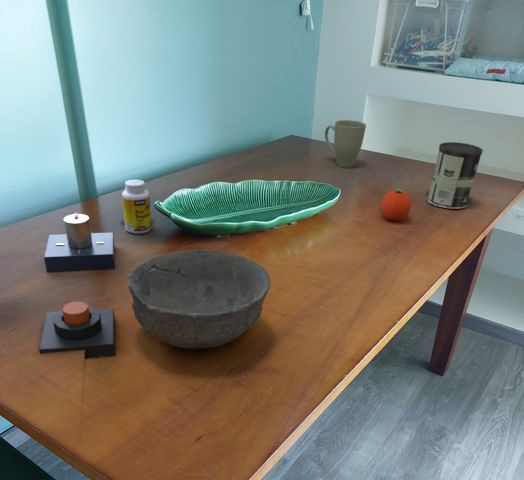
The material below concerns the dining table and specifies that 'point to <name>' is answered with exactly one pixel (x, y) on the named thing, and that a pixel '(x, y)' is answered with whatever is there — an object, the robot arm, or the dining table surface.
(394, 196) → the clementine
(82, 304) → the orange short cylinder
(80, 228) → the lock knob
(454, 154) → the coffee can
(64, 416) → the dining table surface
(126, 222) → the supplement bottle
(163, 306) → the bowl
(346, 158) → the mug
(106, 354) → the button base
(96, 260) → the lock panel
